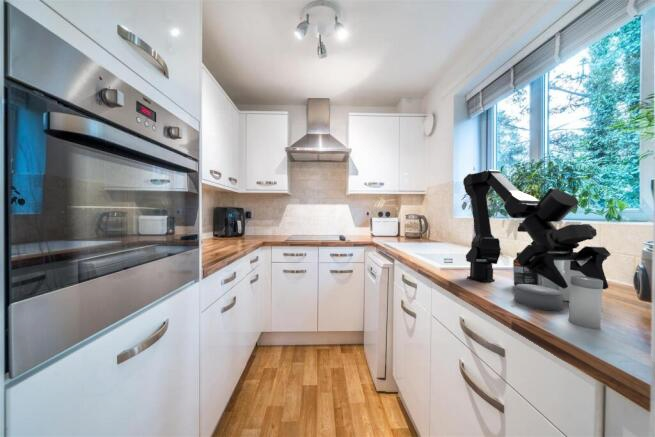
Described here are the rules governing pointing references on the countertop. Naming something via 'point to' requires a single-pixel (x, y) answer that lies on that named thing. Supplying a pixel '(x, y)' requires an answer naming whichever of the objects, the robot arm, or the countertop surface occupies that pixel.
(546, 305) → the charcoal stand
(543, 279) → the syrup box
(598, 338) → the countertop surface
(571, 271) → the medicine bottle
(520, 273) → the supplement bottle
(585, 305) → the white and grey cylinder
